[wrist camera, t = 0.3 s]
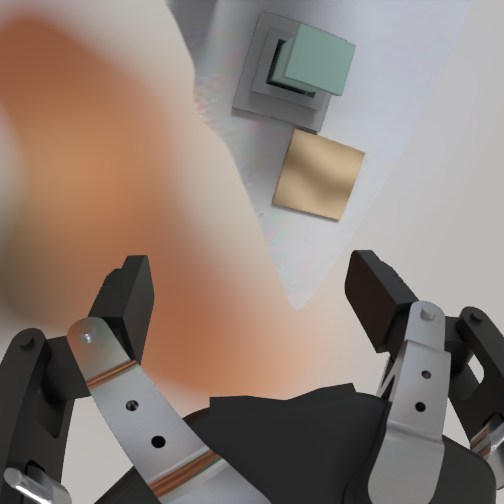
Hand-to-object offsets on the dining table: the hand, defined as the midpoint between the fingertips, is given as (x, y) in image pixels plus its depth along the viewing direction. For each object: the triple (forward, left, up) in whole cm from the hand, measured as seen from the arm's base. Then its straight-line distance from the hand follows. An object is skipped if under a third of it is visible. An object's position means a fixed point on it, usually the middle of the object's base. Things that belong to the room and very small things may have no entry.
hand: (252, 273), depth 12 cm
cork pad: (0, +12, -27) cm, 30 cm away
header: (-12, +5, -27) cm, 30 cm away
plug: (-12, +5, -27) cm, 30 cm away
